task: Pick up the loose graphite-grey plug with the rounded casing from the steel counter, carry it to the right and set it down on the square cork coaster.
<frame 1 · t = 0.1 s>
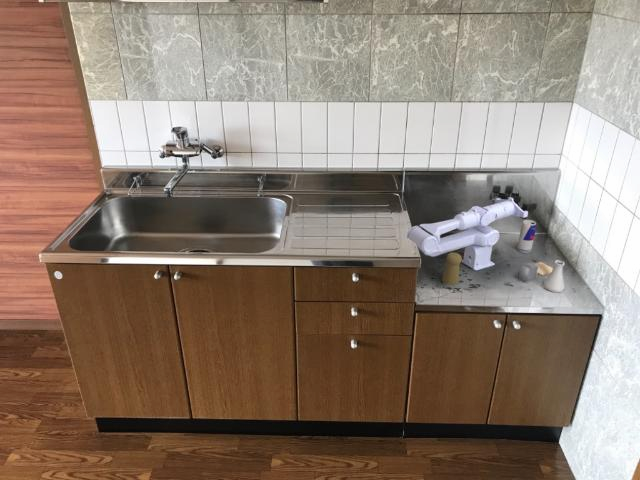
hand: (527, 202, 192), 21 cm above the counter, tool horizontal, fingers open, 7 cm apart
plug: (527, 277, 185), on the counter
pepper shaker: (450, 281, 184), on the counter, touching arm
flask: (553, 287, 180), on the counter
energy drink: (523, 250, 204), on the counter
coaster: (541, 269, 190), on the counter
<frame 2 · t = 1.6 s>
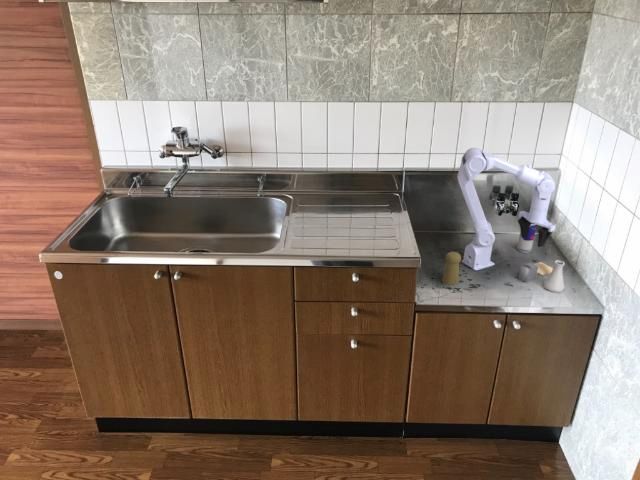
hand: (532, 241, 188), 10 cm above the counter, tool pointing down, fingers open, 7 cm apart
pepper shaker: (450, 281, 183), on the counter
everything else where it was.
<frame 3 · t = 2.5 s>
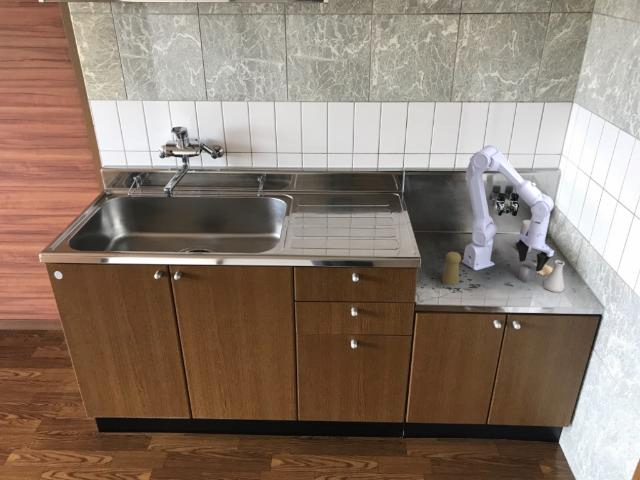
hand: (530, 265, 183), 5 cm above the counter, tool pointing down, fingers open, 7 cm apart
nothing on the counter moved.
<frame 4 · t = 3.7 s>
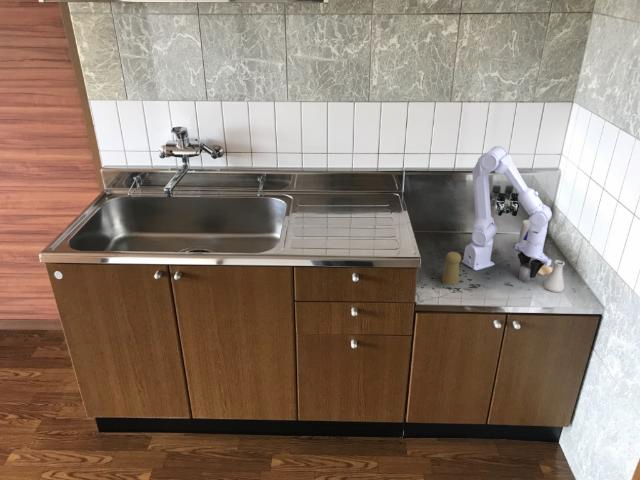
hand: (528, 274, 184), 1 cm above the counter, tool pointing down, fingers closed on plug, 3 cm apart
plug: (527, 277, 185), on the counter, touching gripper
everything else where it was.
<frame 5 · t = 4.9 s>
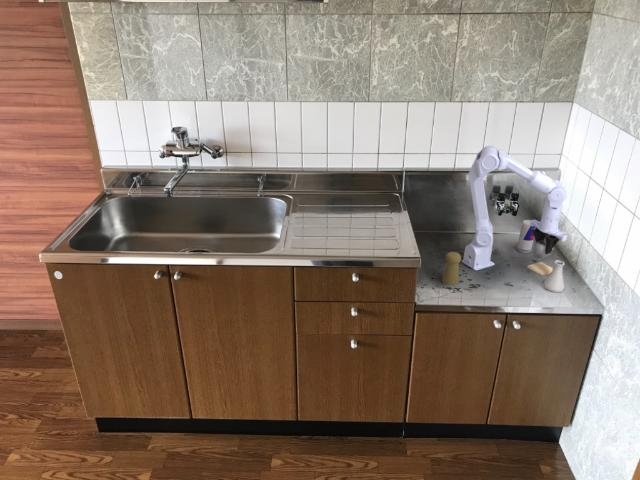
hand: (543, 250, 185), 8 cm above the counter, tool pointing down, fingers closed on plug, 3 cm apart
plug: (542, 254, 186), point 7 cm above the counter, touching gripper
everything else where it was.
when the fingers open (3 cm above the counter, at t = 6.4 s): plug drops 1 cm, resting on coaster.
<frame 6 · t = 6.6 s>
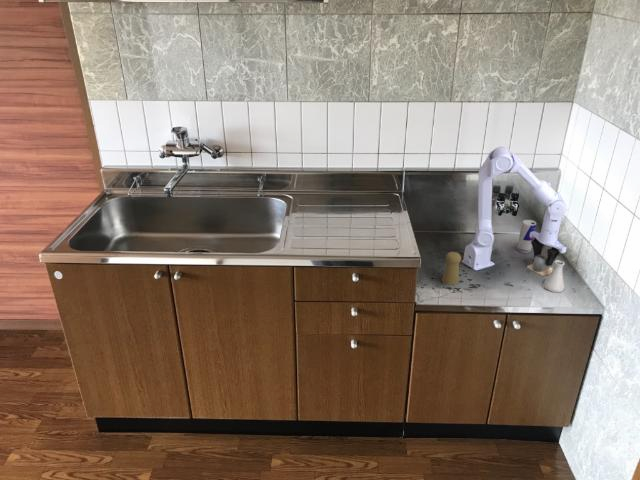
hand: (542, 261, 189), 3 cm above the counter, tool pointing down, fingers open, 5 cm apart
plug: (541, 268, 190), point 1 cm above the counter, touching coaster
everything else where it was.
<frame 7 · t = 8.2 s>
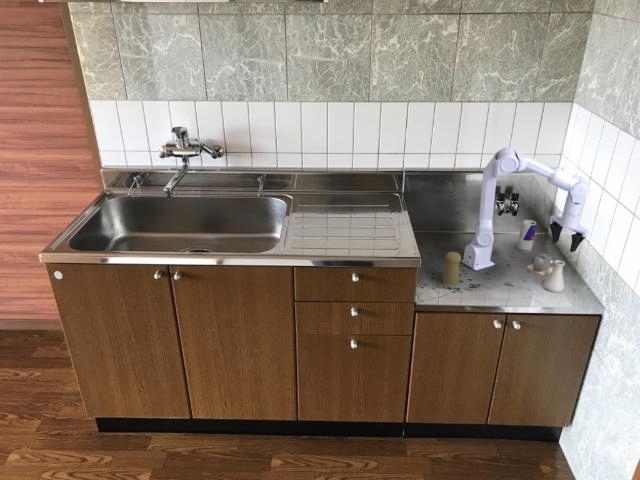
hand: (563, 246, 184), 10 cm above the counter, tool pointing down, fingers open, 7 cm apart
nothing on the counter moved.
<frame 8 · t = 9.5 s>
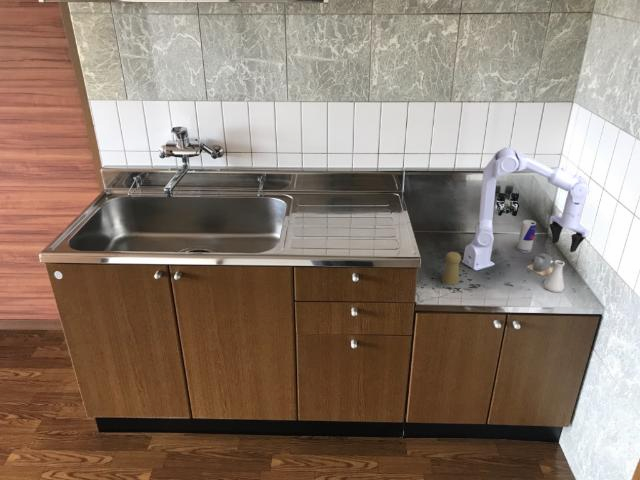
hand: (563, 246, 184), 10 cm above the counter, tool pointing down, fingers open, 7 cm apart
nothing on the counter moved.
at the end: plug inside the target area on the coaster (0.0 cm from its centre), point 0.6 cm above the coaster's base; plug tilted 0°; the gripper is holding nothing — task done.
